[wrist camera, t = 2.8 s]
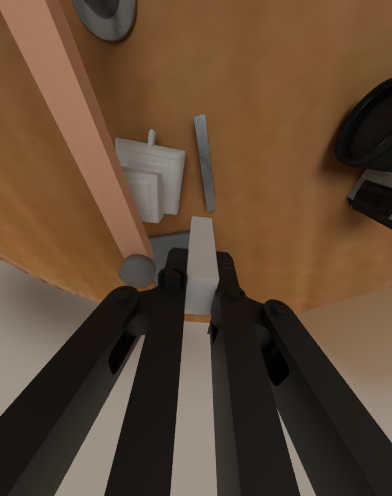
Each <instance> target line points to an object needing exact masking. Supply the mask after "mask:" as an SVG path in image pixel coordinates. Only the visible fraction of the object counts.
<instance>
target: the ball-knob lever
mask: <svg viewBox="0 0 392 496" xmlns="http://www.w3.org/2000/svg"><path fill="white" fill-rule="evenodd" d="M0 11H1V13H2V15H3V17H4V19H5V21H6V23H7V25H8V27H9V29H10V31H11V33H12V35H13V37H14V39H15V41H16V43H17V45H18V47H19V49H20V51H21V53H22V55H23V57H24V59H25V61H26V63H27V65H28V67H29V69H30V71H31V73H32V75H33V77H34V79H35V81H36V83H37V85H38V87H39V89H40V91H41V93H42V95H43V97H44V99H45V101H46V103H47V105H48V107H49V109H50V111H51V113H52V115H53V117H54V119H55V121H56V123H57V125H58V127H59V129H60V131H61V133H62V135H63V137H64V139H65V141H66V143H67V145H68V147H69V149H70V151H71V153H72V155H73V157H74V159H75V161H76V163H77V165H78V167H79V169H80V171H81V173H82V175H83V177H84V179H85V181H86V183H87V185H88V187H89V189H90V191H91V193H92V195H93V197H94V199H95V201H96V203H97V205H98V207H99V209H100V211H101V213H102V215H103V217H104V219H105V221H106V223H107V225H108V227H109V229H110V231H111V233H112V235H113V237H114V239H115V241H116V243H117V245H118V247H119V249H120V251H121V253H122V255H123V257H124V259H125V261H124V262H123V264H122V266H121V268H120V270H119V276H120V278H121V279H122V281H123V282H125V283H126V284H127V285H129V286H132V287H136V288H143V287H146V286H148V285H150V284H151V283H152V281H153V278H154V275H155V272H156V265H155V263H154V262H153V260H152V258H153V255H154V252H153V250H152V247H151V244H150V241H149V239H148V236H147V233H146V231H145V228H144V225H143V223H142V220H141V217H140V215H139V212H138V209H137V207H136V204H135V201H134V199H133V196H132V193H131V191H130V188H129V185H128V183H127V180H126V177H125V175H124V172H123V169H122V167H121V164H120V161H119V158H118V156H117V153H116V150H115V148H114V145H113V142H112V140H111V137H110V134H109V132H108V129H107V126H106V124H105V121H104V118H103V116H102V113H101V110H100V108H99V105H98V102H97V100H96V97H95V94H94V92H93V89H92V86H91V84H90V81H89V78H88V75H87V73H86V70H85V67H84V65H83V62H82V59H81V57H80V54H79V51H78V49H77V46H76V43H75V41H74V38H73V35H72V33H71V30H70V27H69V25H68V22H67V19H66V17H65V14H64V11H63V9H62V6H61V3H60V1H59V0H0Z"/></svg>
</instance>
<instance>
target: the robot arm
mask: <svg viewBox="0 0 392 496" xmlns="http://www.w3.org/2000/svg"><path fill="white" fill-rule="evenodd" d="M210 312H211V321H210V325H209V329H208V333H207V334H210V341H211V342H210V343H211V365H212V386H213V409H214V430H215V449H216V450H215V452H216V473H217V495H218V496H300V492H299V489H298V485H297V481H296V478H295V474H294V471H293V467H292V463H291V459H290V455H289V452H288V448H287V444H286V441H285V437H284V434H283V429H282V426H281V422H280V418H279V415H278V411H279V414H280V416H281V418H282V420H283V423H284V425H285V427H286V429H287V431H288V434H289V436H290V438H291V440H292V443H293V445H294V447H295V449H296V452H297V454H298V456H299V458H300V460H301V463H302V465H303V467H304V469H305V472H306V473H307V476H308V478H309V481H310V483H311V485H312V487H313V490H314V492H315V494H316V496H392V443H391V441H390V440H389V439H388V437H387V436H386V435H385V434H384V432H383V431H382V429H381V428H380V427H379V425H378V424H377V423H376V421H375V420H374V419H373V418H372V416H371V415H370V413H369V412H368V411H367V409H366V408H365V407H364V406H363V404H362V403H361V401H360V400H359V399H358V398H357V396H356V395H355V393H354V392H353V391H352V389H351V388H350V387H349V385H348V384H347V383H346V381H345V380H344V379H343V378H342V376H341V375H340V374H339V372H338V371H337V370H336V368H335V367H334V366H333V364H332V363H331V362H330V360H329V359H328V358H327V356H326V355H325V354H324V352H323V351H322V350H321V348H320V347H319V346H318V344H317V343H316V342H315V340H314V339H313V338H312V336H311V335H310V334H309V332H308V331H307V330H306V329H305V327H304V326H303V324H302V323H301V322H300V320H299V319H298V318H297V316H296V315H295V314H294V312H293V311H292V310H291V309H290V308H289V307H288V306H287V305H286V304H284V303H283V302H281V301H278V300H273V299H270V300H268V301H266V302H265V304H263V303H260V302H257V301H254V300H252V299H250V298H248V297H247V296H246V294H245V292H244V291H243V290H242V289H241V288H240V287H239V283H238V279H237V275H236V271H235V267H234V263H233V259H232V257H231V256H230V255H229V253H226V252H217V251H216V250H215V242H214V234H213V226H212V218H205V217H196V216H192V220H191V228H190V237H189V245H188V249H185V248H176V247H173V248H172V249H171V250H170V251H169V252H168V256H167V260H166V264H165V268H163V269H161V270H160V271H159V273H158V286H157V287H155V288H153V289H151V290H147V291H141V292H138V290H137V289H136V288H134V287H132V286H121V287H118V288H116V289H114V290H113V291H111V292H110V293H109V294H108V295H107V296H106V298H105V299H104V300H103V301H102V302H101V303H100V304H99V306H98V307H97V308H96V309H95V310H94V311H93V312H92V313H91V315H90V316H89V317H88V318H87V319H86V320H85V321H84V322H83V324H82V325H81V326H80V327H79V328H78V329H77V330H76V332H75V333H74V334H73V335H72V336H71V337H70V338H69V340H68V341H67V342H66V343H65V344H64V345H63V346H62V347H61V348H60V350H59V351H58V352H57V353H56V354H55V355H54V356H53V358H52V359H51V360H50V361H49V362H48V363H47V364H46V365H45V367H44V368H43V369H42V370H41V371H40V372H39V373H38V374H37V376H36V377H35V378H34V379H33V380H32V381H31V382H30V383H29V385H28V386H27V387H26V388H25V389H24V390H23V391H22V393H21V394H20V395H19V396H18V397H17V398H16V399H15V400H14V402H13V403H12V404H11V405H10V406H9V407H8V408H7V409H6V411H5V412H4V413H3V414H2V415H1V416H0V496H54V495H55V493H56V491H57V489H58V488H59V486H60V484H61V482H62V480H63V478H64V476H65V475H66V473H67V471H68V469H69V467H70V466H71V464H72V462H73V460H74V458H75V456H76V455H77V453H78V451H79V449H80V447H81V445H82V443H83V442H84V440H85V438H86V436H87V434H88V432H89V430H90V429H91V427H92V425H93V423H94V421H95V420H96V418H97V416H98V414H99V412H100V410H101V408H102V407H103V405H104V403H105V401H106V399H107V397H108V396H109V394H110V392H111V390H112V388H113V386H114V385H115V383H116V381H117V379H118V377H119V375H120V373H121V372H122V370H123V368H124V366H125V364H126V363H127V361H128V359H129V357H130V355H131V353H132V351H133V350H134V348H135V346H136V344H137V342H138V340H139V338H140V337H141V335H145V334H146V335H145V339H144V343H143V347H142V351H141V355H140V358H139V362H138V366H137V370H136V374H135V378H134V382H133V386H132V390H131V393H130V397H129V402H128V405H127V409H126V413H125V417H124V421H123V425H122V428H121V433H120V436H119V440H118V444H117V448H116V452H115V456H114V460H113V464H112V467H111V472H110V475H109V479H108V483H107V487H106V491H105V495H104V496H170V489H171V476H172V464H173V452H174V439H175V426H176V414H177V401H178V388H179V375H180V362H181V351H182V338H183V324H184V314H194V315H205V316H210ZM277 409H278V411H277Z"/></svg>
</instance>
